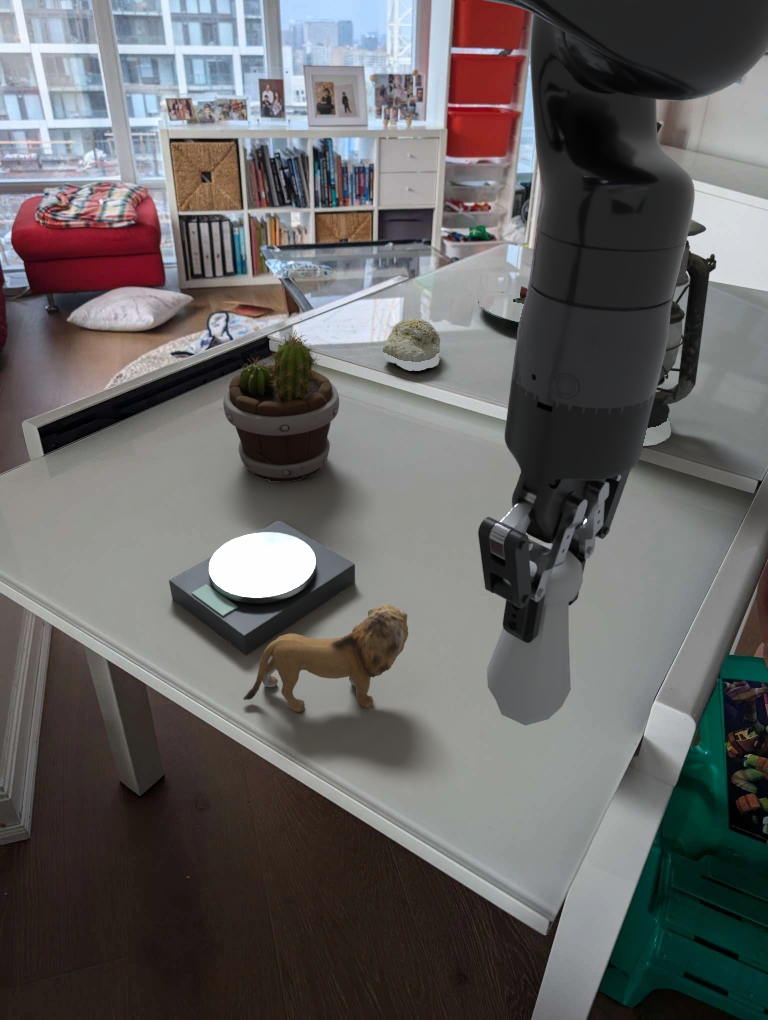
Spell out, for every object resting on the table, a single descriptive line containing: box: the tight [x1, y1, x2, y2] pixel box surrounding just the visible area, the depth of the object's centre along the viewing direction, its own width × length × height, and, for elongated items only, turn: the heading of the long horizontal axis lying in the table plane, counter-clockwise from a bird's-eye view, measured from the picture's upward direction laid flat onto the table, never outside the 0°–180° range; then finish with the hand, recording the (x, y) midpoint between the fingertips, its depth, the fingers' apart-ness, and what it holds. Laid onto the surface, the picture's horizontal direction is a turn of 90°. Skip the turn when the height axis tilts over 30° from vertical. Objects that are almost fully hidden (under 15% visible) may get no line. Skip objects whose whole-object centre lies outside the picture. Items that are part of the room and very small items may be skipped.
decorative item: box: [382, 317, 441, 362], centre depth 130 cm, size 12×9×10 cm
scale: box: [168, 519, 356, 656], centre depth 79 cm, size 15×12×3 cm
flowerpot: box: [222, 329, 340, 483], centre depth 96 cm, size 14×15×20 cm
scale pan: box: [208, 532, 317, 604], centre depth 78 cm, size 11×11×1 cm
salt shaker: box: [486, 543, 584, 726], centre depth 51 cm, size 6×6×13 cm
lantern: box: [647, 218, 717, 428], centre depth 107 cm, size 19×19×30 cm
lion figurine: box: [243, 604, 409, 713], centre depth 66 cm, size 15×5×9 cm, turn 102°
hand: (540, 615), depth 50 cm, fingers closed on salt shaker, 4 cm apart
